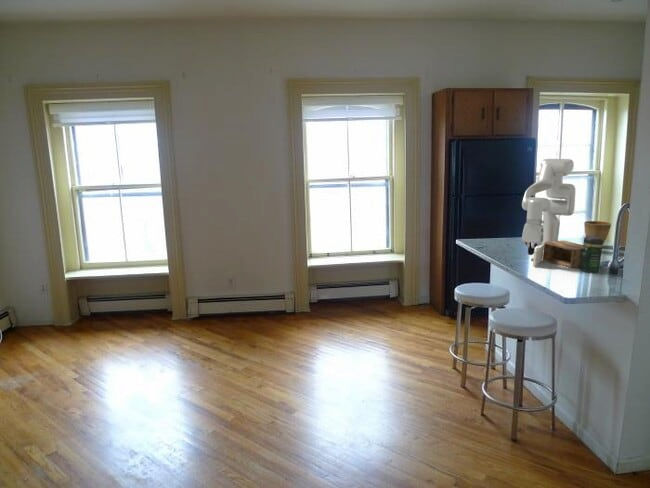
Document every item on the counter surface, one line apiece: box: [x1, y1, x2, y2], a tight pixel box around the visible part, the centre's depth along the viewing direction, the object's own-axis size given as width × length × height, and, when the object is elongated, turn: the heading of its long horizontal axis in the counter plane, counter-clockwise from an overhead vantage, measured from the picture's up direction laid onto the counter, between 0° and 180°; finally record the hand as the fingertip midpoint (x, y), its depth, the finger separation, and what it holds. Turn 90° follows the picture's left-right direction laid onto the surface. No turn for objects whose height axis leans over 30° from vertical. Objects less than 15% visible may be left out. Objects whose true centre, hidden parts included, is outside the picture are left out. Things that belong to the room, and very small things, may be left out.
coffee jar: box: [579, 235, 604, 274], centre depth 229 cm, size 10×8×19 cm
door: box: [530, 244, 544, 267], centre depth 245 cm, size 2×19×9 cm, turn 143°
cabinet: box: [542, 239, 583, 270], centre depth 245 cm, size 14×20×11 cm
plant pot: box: [583, 220, 612, 245], centre depth 284 cm, size 15×15×16 cm
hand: (530, 254), depth 242 cm, fingers closed
